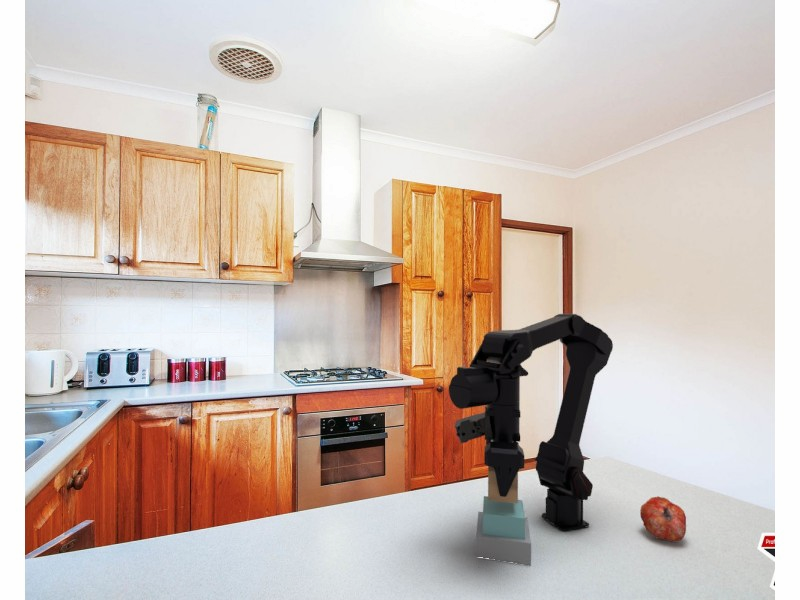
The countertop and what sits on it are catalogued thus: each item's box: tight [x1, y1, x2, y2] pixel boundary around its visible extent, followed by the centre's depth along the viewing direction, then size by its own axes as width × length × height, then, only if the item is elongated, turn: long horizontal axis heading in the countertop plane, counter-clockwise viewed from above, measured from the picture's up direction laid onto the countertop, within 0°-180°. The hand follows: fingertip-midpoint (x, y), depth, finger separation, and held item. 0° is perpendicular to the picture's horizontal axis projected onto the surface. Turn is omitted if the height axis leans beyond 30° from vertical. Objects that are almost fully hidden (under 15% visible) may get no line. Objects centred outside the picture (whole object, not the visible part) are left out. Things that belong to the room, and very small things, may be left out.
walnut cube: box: [487, 466, 519, 503], centre depth 75 cm, size 5×5×5 cm
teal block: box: [482, 495, 526, 540], centre depth 75 cm, size 7×7×4 cm
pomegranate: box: [639, 495, 687, 543], centre depth 79 cm, size 7×7×10 cm
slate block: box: [475, 511, 532, 567], centre depth 75 cm, size 9×9×4 cm
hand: (502, 489), depth 75 cm, fingers closed on walnut cube, 5 cm apart
